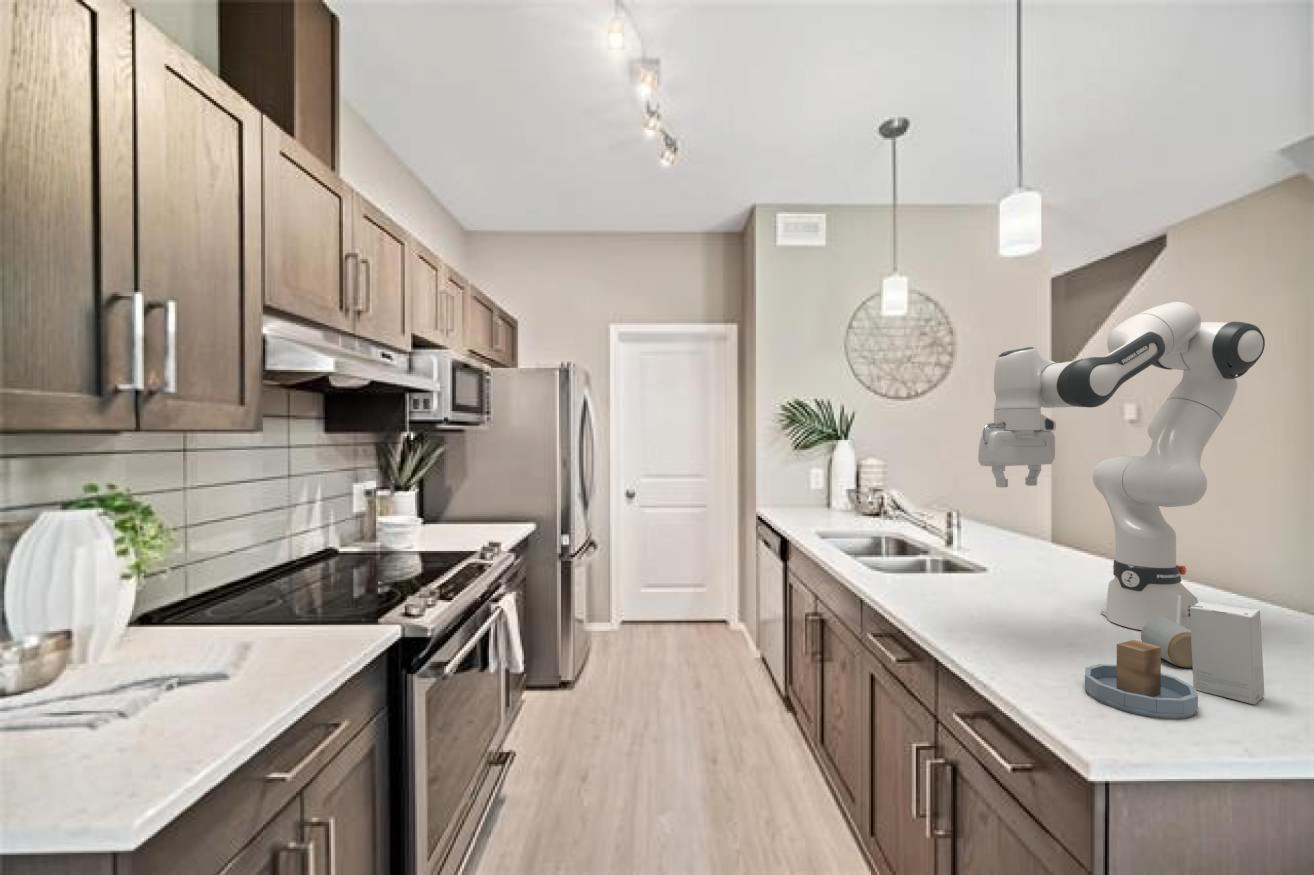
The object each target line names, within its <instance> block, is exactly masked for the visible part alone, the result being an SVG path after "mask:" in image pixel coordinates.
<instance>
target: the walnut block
mask: <svg viewBox="0 0 1314 875" xmlns="http://www.w3.org/2000/svg"><path fill="white" fill-rule="evenodd" d="M1161 662H1162V658H1161V647H1159V646H1155V645H1151V644H1148V643H1144V642H1142V641H1140V640H1137V639H1131V640H1127V641H1124V642H1120V643H1116V665H1117V689H1119V690H1122V691H1125V692H1129V693H1134V694H1139V695H1144V696H1149V697H1155V696H1158V695H1161V673H1162V670H1161V669H1162V668H1161V666H1162V663H1161Z"/></svg>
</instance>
